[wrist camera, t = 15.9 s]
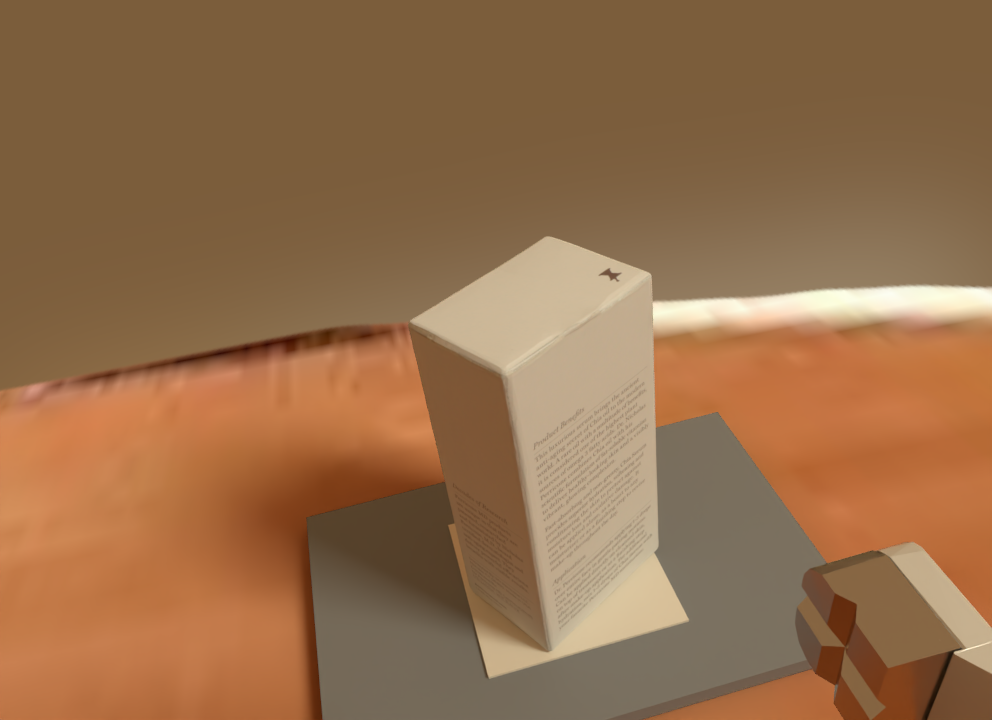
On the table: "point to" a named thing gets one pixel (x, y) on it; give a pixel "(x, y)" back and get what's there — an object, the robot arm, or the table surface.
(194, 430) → the table surface
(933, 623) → the robot arm
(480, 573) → the skincare box
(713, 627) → the rubber mat
